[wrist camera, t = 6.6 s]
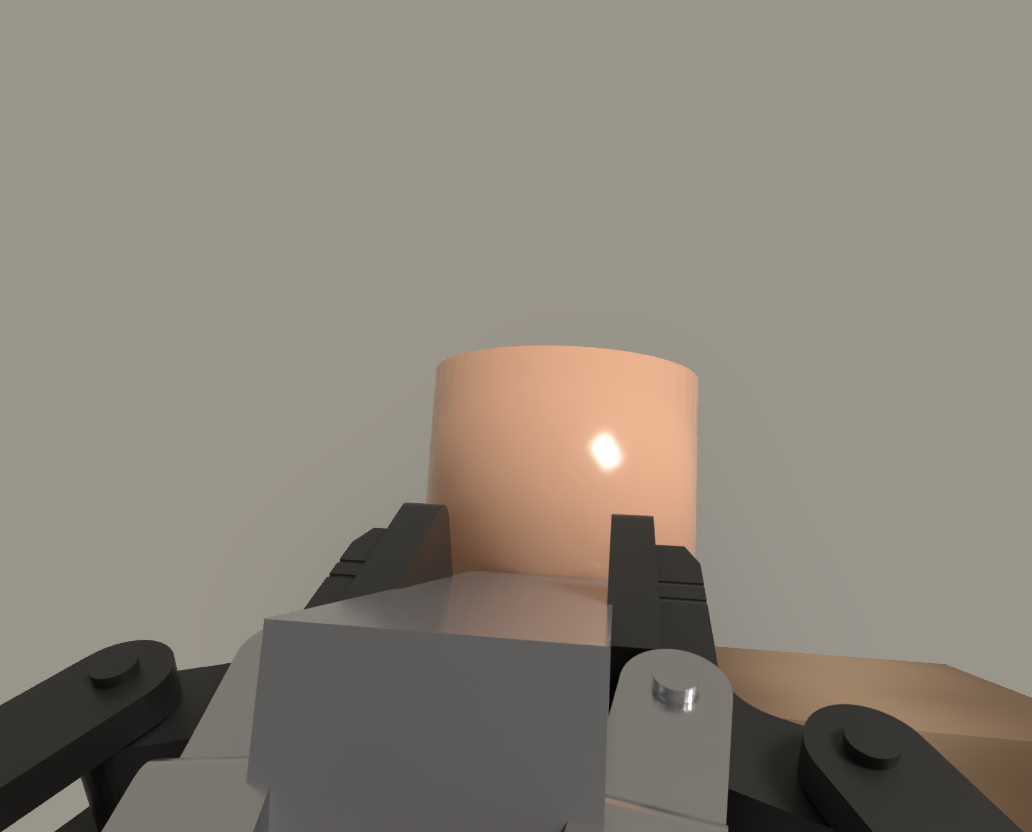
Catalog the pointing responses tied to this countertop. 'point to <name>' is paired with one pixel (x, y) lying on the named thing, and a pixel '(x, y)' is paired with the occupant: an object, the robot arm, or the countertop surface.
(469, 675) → the peach cylinder
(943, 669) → the stand
